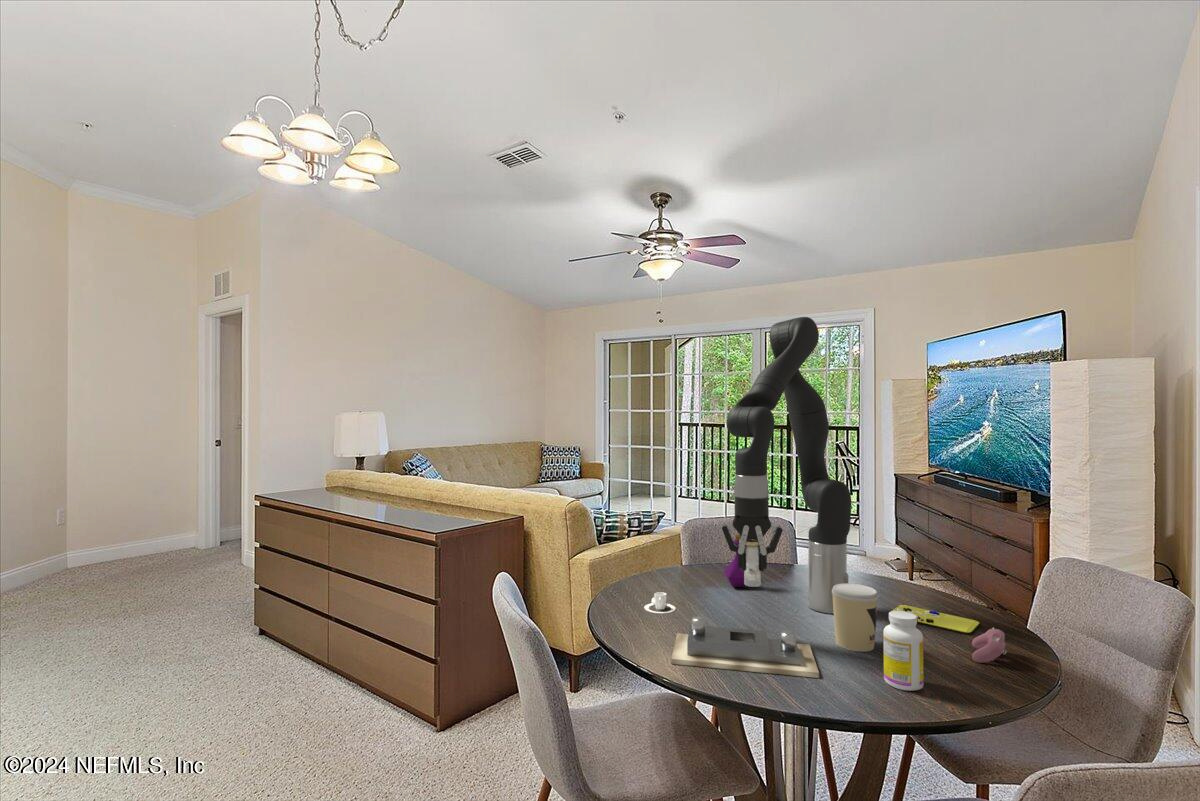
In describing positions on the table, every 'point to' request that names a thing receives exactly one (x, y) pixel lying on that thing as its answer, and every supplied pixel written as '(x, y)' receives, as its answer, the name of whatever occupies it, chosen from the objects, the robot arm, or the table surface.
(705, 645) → the knobbed grey block
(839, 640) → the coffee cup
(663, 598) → the teacup and saucer
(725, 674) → the table surface
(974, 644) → the video game controller
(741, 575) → the perfume bottle
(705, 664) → the birch board
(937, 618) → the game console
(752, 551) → the pin
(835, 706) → the table surface
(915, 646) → the supplement bottle
